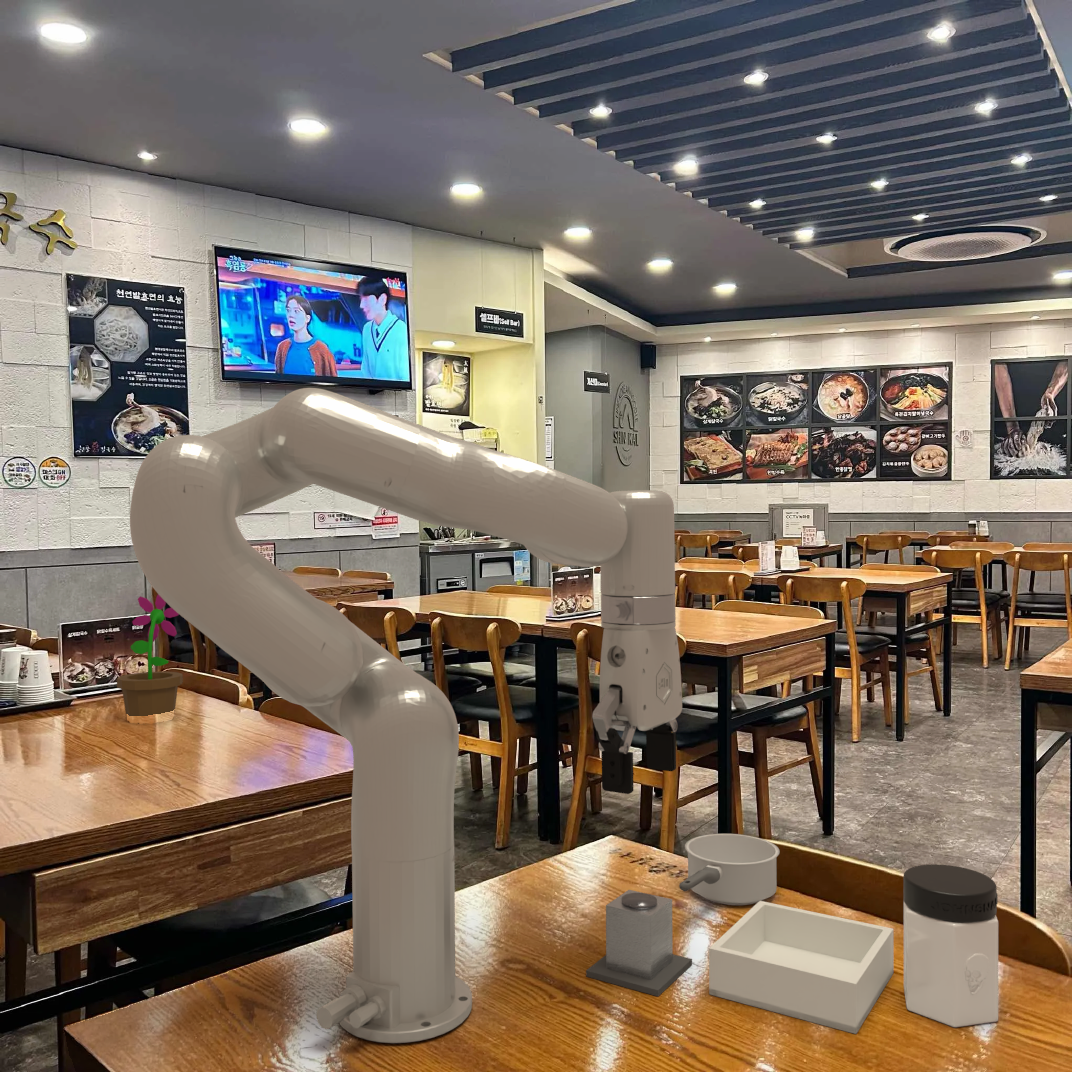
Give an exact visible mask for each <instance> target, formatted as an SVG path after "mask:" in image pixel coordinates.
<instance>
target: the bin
mask: <svg viewBox="0 0 1072 1072" xmlns="http://www.w3.org/2000/svg"><path fill="white" fill-rule="evenodd" d="M894 943H895V942H894V928H891V927H887V926H882V925H877V924H872V923H867V922H863V921H858V920H854V919H849V918H843V917H839V916H835V915H829V914H825V913H819V912H816V911H810V910H806V909H801V908H797V907H792V906H787V905H783V904H778V903H777V904H776V903H772V902H767V901H764V900H762V901H759V902H758V903H755V905H753V906H752V907H751V908H750V909H749V910H748V911H747V912H746V913H745V914H744V915H743V916H742V917H740V919H739V920H738V921H736V923H734V924H733V925H732V926H731V927H730V928H729V929H728V930H727V931H726V932H725V933H723V935H722V936H720V937H719V938H718V939H717V940H716V941H715V942H714V943H713V944H712V945H711V946H709V948H708V994H709V995H711V996H714V997H716V998H722V999H725V1000H728V1001H732V1002H737V1003H739V1004H744V1005H747V1006H751V1007H754V1008H759V1009H762V1010H766V1011H770V1012H771V1013H772V1012H773V1013H777V1014H781V1015H784V1016H788V1017H792V1018H796V1019H798V1020H799V1019H800V1020H803V1021H806V1022H809V1023H813V1024H817V1025H820V1026H825V1027H828V1028H833V1029H836V1030H839V1031H842V1032H846V1033H850V1034H855V1035H857V1034H858V1032H859V1030H860V1029H861V1027H862V1026H863V1024H864V1023H865V1021H866V1018H867V1017H868V1015H869V1014H870V1013H871V1011H872V1010H873V1007H874V1006H875V1004H876V1003H877V1001H878V999H879V997H880V996H881V994H882V992H883V991H884V990H885V988H886V986H887V984H888V983H889V981H890V979H891V978H892V977H893V975H894V969H895V968H894V964H895V962H894V959H895V958H894V954H895V953H894V950H895V949H894Z"/></svg>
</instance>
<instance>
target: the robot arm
mask: <svg viewBox="0 0 1072 1072" xmlns="http://www.w3.org/2000/svg"><path fill="white" fill-rule="evenodd" d="M312 485H316V486H318V487H321V488H324V489H326V490H330V491H332V492H336V493H339V494H341V495H344V496H348V497H350V498H353V499H356V500H359V501H362V502H365V503H368V504H371V505H374V506H376V507H379V508H383V509H385V510H388V511H390V512H393V513H396V514H399V515H401V516H405V517H407V518H410V519H412V520H416V521H420V522H423V523H427V524H431V525H435V526H439V527H444V528H451V529H462V530H467V531H474V532H476V533H478V532H479V533H482V534H487V535H490V536H493V537H496V538H500V539H505V540H507V541H511V542H514V543H517V544H519V545H520V544H521V545H523V546H524V547H525V549H526V550H527V551H528V552H529V553H530V554H531V555H532V556H534V557H536V558H537V559H539V560H540V561H543V562H545V563H549V564H553V565H554V564H555V565H563V566H575V567H583V568H593V567H599V566H600V568H599V569H600V615H601V616H600V620H601V621H600V623H601V624H600V626H601V628H603V632H602V633H603V634H602V641H601V650H600V651H601V652H600V668H599V703H597V706H596V707H595V708H594V710H593V711H592V721H593V724H594V727H595V737H596V739H597V741H598V748H599V749H598V750H599V751H600V752H601V788H602V790H603V791H605V792H611V793H617V794H623V795H624V794H625V795H630V794H632V793H633V792H634V752H632V751H629V750H630V748H631V744H632V742H633V738H634V735H635V732H636V729H637V730H639V731H642V732H645V740H646V741H645V747H646V750H645V751H646V767H647V768H648V769H652V770H657V771H665V772H674V771H675V770H676V769H677V745H676V744H677V743H676V742H677V741H676V740H677V736H676V735H677V734H676V733H677V730H678V722H677V718H678V717H679V716H680V715H681V713H682V711H683V694H682V691H683V689H682V674H681V661H680V650H679V643H678V642H679V641H678V635H677V631H676V623H677V621H676V618H677V617H676V560H675V559H676V557H675V556H676V555H675V554H676V552H675V551H676V550H675V546H676V545H675V542H676V541H675V505H674V500H673V498H672V496H671V495H670V494H669V493H667V492H664V491H662V490H656V489H654V490H653V489H652V490H650V489H647V490H644V489H639V490H637V489H636V490H635V489H634V490H633V489H631V490H616V491H612V492H609V491H607V490H606V489H604V488H603V487H601V486H598V485H595V484H593V483H591V482H588V481H586V480H584V479H581V478H578V477H575V476H572V475H570V474H567V473H565V472H562V471H559V470H558V469H554V468H551V467H549V466H546V465H543V464H540V463H537V462H535V461H531V460H528V459H526V458H525V459H524V458H522V457H519V456H515V455H512V454H507V453H504V452H502V451H498V450H495V449H491V448H488V447H485V446H483V445H480V444H478V443H475V442H472V441H469V440H464V439H460V438H457V437H454V436H451V435H447V434H446V433H443V432H440V431H437V430H434V429H431V428H429V427H427V426H424V425H421V424H419V423H414V422H413V421H410V420H407V419H405V418H402V417H399V416H397V415H394V414H391V413H389V412H388V411H384V410H381V409H379V408H377V407H374V406H371V405H368V404H366V403H363V402H360V401H358V400H356V399H353V398H350V397H347V396H344V395H342V394H339V393H336V392H333V391H331V390H327V389H324V388H318V387H303V388H299V389H295V390H293V391H291V392H289V393H287V394H286V395H285V396H283V397H282V398H281V399H279V400H278V401H277V403H275V405H274V406H273V407H271V408H268V409H267V410H264V411H263V412H260V413H257V414H256V415H254V416H251V417H248V418H246V419H244V420H241V421H239V422H236V423H234V424H232V425H228V426H226V427H224V428H221V429H218V430H216V431H213V432H210V433H208V434H205V435H202V436H200V435H195V434H183V435H177V436H174V437H170V438H167V439H165V440H163V441H161V442H159V443H158V444H157V445H156V446H154V447H153V448H152V449H151V450H150V451H149V452H148V454H147V455H146V456H145V457H144V459H143V461H142V463H141V465H140V467H139V469H138V471H137V473H136V478H135V480H134V485H133V490H132V493H131V501H130V510H129V528H130V529H129V530H130V538H131V543H132V546H133V547H132V548H133V551H134V554H135V557H136V560H137V562H138V564H139V567H140V569H141V570H142V572H143V574H144V576H145V578H146V580H147V581H148V582H149V583H150V585H151V587H152V589H154V591H155V592H156V593H157V595H158V594H159V595H160V597H161V598H162V599H163V600H164V601H165V602H166V604H167V605H168V606H169V608H171V607H172V608H173V609H174V610H175V611H176V612H177V613H178V614H179V615H180V617H182V618H184V620H186V621H187V622H188V623H189V624H191V625H192V626H193V627H194V628H196V629H197V630H198V631H199V632H201V633H202V634H203V635H204V636H206V637H207V638H208V639H209V640H211V642H213V643H214V644H216V646H218V647H219V648H220V649H221V650H222V651H224V652H225V653H226V654H228V655H229V656H230V657H232V658H233V659H234V660H236V661H237V662H238V663H239V664H241V665H242V666H243V667H245V668H246V669H248V670H249V671H250V672H251V673H252V674H254V675H255V676H256V677H257V678H258V679H260V680H261V681H262V682H264V684H265V685H266V687H268V688H269V689H270V690H271V691H272V692H273V693H274V694H275V695H277V696H279V697H280V698H281V699H283V700H286V701H287V702H289V703H292V704H295V705H299V706H301V707H303V708H304V709H305V710H307V711H308V712H310V713H311V714H312V715H313V716H315V717H316V718H318V719H319V720H320V721H321V722H323V723H324V724H326V726H328V727H330V728H331V729H332V730H334V731H335V732H336V733H338V734H340V735H341V736H342V737H343V738H345V739H346V740H347V741H348V742H349V745H351V747H352V758H353V761H352V762H353V767H352V770H353V773H352V792H351V811H350V812H351V817H350V818H351V821H350V823H351V826H350V827H351V830H350V831H351V833H350V834H351V841H350V842H351V843H350V844H351V872H352V873H351V874H352V876H351V878H352V881H351V883H352V884H351V885H352V886H351V887H352V888H351V889H352V958H353V959H352V964H353V965H352V967H353V971H351V972H349V973H348V974H346V975H345V989H343V990H342V991H341V993H340V994H339V995H338V996H339V997H337V998H334V999H333V1000H331V1001H329V1002H327V1003H325V1004H323V1005H322V1006H320V1007H318V1008H317V1011H316V1020H317V1023H318V1025H319V1026H320V1027H321V1028H322V1029H324V1030H329V1029H331V1028H333V1027H334V1026H336V1025H338V1024H339V1025H340V1026H341V1027H342V1028H343V1029H344V1030H345V1031H346V1032H348V1033H349V1034H351V1035H353V1036H355V1037H357V1038H360V1039H362V1040H366V1041H371V1042H375V1043H383V1044H384V1043H385V1044H406V1043H415V1042H420V1041H425V1040H426V1041H427V1040H429V1039H433V1038H435V1037H438V1036H442V1035H444V1034H446V1033H449V1032H450V1031H452V1030H454V1029H456V1028H457V1027H458V1026H460V1025H461V1024H462V1023H463V1022H465V1020H466V1019H467V1018H468V1017H469V1015H470V1013H471V1012H472V1007H473V995H472V991H471V988H470V986H469V985H468V984H467V983H466V982H465V981H464V980H463V979H462V978H460V977H458V976H456V912H455V911H456V909H455V908H456V906H455V905H456V904H455V903H456V901H455V899H456V898H455V897H456V896H455V895H456V893H455V890H456V889H455V887H456V886H455V831H454V825H455V824H454V823H455V820H454V818H455V817H454V816H455V815H454V812H455V809H454V808H455V806H454V804H455V786H456V785H455V784H456V775H457V768H458V767H457V766H458V759H459V747H460V745H459V742H460V736H459V726H458V725H459V724H458V721H457V716H456V713H455V710H454V708H453V705H452V704H451V702H450V701H449V699H448V698H447V696H446V695H445V693H444V692H443V691H442V690H441V689H440V688H439V687H438V685H435V684H434V683H433V682H432V681H431V680H429V679H428V678H426V677H424V676H423V675H421V674H419V673H418V672H416V671H415V670H413V669H412V668H410V667H409V666H408V665H407V664H405V663H403V661H401V660H400V659H398V658H397V657H396V656H395V655H393V654H392V653H391V652H389V651H388V650H387V649H386V648H385V647H383V646H382V645H381V644H379V642H377V641H376V640H374V639H373V638H372V637H370V636H369V635H368V634H367V633H366V632H365V631H363V630H362V629H361V628H359V627H358V626H357V625H355V623H354V622H351V621H350V620H349V618H348V617H346V615H344V614H343V613H342V612H341V611H340V610H338V609H337V608H336V607H334V606H333V605H331V604H330V603H328V602H325V601H324V600H322V599H318V598H317V597H315V596H314V595H313V594H311V593H310V592H308V591H307V590H306V589H304V588H303V587H302V586H300V585H299V584H298V583H297V582H295V581H294V580H293V579H291V578H290V577H289V576H287V575H286V574H285V573H284V572H283V571H282V570H281V569H279V568H278V567H277V566H276V565H275V564H274V563H272V561H271V560H269V558H267V557H265V556H264V555H263V554H262V553H260V552H259V551H258V550H257V549H255V548H254V547H253V546H252V545H251V544H250V543H249V542H248V541H247V539H246V538H245V536H243V534H242V532H241V530H240V529H239V527H238V523H237V520H236V518H237V517H241V516H243V515H246V514H248V513H250V512H253V511H255V510H258V509H259V508H263V507H265V506H267V505H269V504H271V503H274V502H276V501H279V500H281V499H283V498H285V497H288V496H290V495H292V494H294V493H297V492H299V491H301V490H303V489H306V488H308V487H310V486H312ZM619 731H621V732H622V734H621V735H622V736H620V734H619Z"/></svg>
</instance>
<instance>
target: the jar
mask: <svg viewBox="0 0 1072 1072" xmlns="http://www.w3.org/2000/svg"><path fill="white" fill-rule="evenodd" d="M997 888H998V887H997V884H996V882H995V881H994V880H993V878H991V877H989V876H987V875H986V874H984V873H981V872H979V871H976V870H973V869H969V868H966V867H961V866H957V865H949V864H936V863H935V864H922V865H921V864H920V865H916V866H912V867H910V868H908V869H906V870H905V872H903V990H904V991H903V992H904V997H905V998H904V999H905V1006H906V1009H907V1010H908V1011H910V1012H913V1013H915V1014H917V1015H920V1016H923V1017H926V1018H929V1019H931V1020H934V1021H937V1022H938V1023H942V1024H944V1025H947V1026H949V1027H952V1028H960V1027H961V1028H962V1027H967V1026H973V1025H982V1024H989V1023H995V1022H998V1021H999V920H998V917H997V909H998V908H997V905H999V904H998V903H999V901H998V896H999V895H998V893H997V892H998V891H997Z"/></svg>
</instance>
